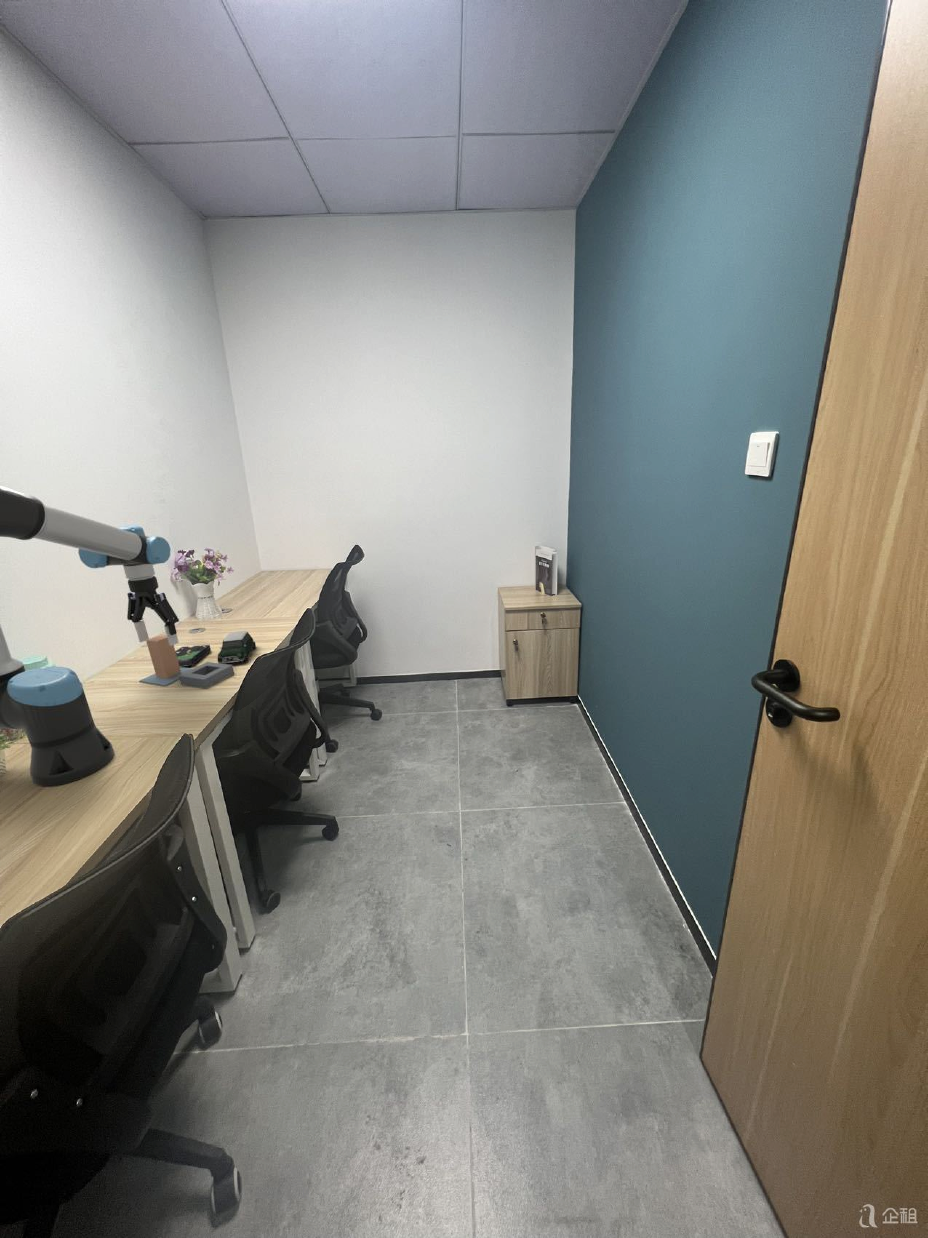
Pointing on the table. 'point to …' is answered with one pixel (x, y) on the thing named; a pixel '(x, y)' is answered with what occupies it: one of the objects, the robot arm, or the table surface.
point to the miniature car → (236, 647)
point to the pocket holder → (206, 674)
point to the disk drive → (191, 654)
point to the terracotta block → (163, 657)
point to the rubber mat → (162, 681)
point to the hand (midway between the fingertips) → (159, 642)
